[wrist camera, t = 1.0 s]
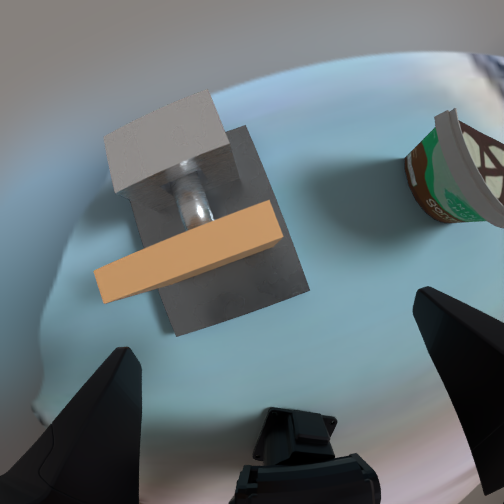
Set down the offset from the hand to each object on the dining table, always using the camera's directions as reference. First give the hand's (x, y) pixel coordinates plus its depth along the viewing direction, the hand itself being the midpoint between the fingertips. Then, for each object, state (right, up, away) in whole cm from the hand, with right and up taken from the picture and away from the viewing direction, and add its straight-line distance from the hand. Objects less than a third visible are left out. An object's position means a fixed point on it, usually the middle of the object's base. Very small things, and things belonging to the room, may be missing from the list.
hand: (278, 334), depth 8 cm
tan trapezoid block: (-4, +4, +13) cm, 14 cm away
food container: (+17, +7, +15) cm, 24 cm away
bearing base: (-4, +4, +15) cm, 16 cm away
